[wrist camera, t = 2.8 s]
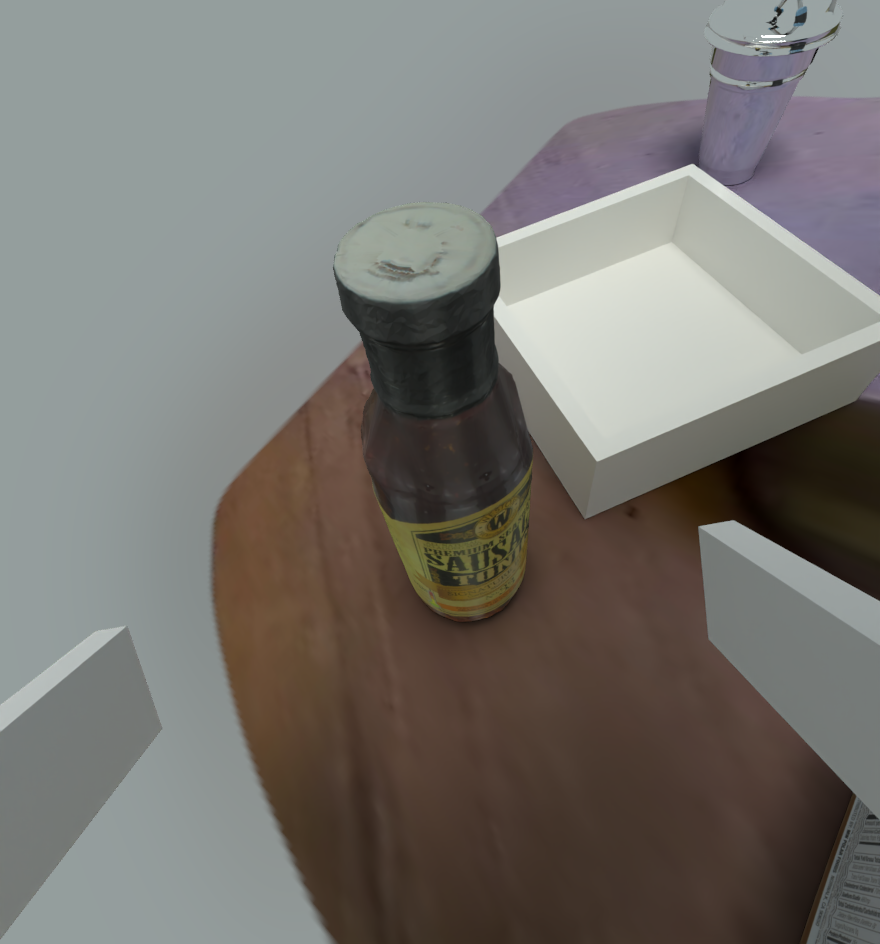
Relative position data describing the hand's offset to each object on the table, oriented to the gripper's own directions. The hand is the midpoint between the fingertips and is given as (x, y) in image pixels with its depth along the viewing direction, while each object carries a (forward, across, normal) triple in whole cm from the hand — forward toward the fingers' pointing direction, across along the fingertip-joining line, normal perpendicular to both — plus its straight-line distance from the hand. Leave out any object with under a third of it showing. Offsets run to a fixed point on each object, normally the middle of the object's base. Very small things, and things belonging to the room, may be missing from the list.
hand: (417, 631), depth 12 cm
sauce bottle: (+16, +1, -6) cm, 17 cm away
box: (+25, +14, +4) cm, 29 cm away
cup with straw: (+39, +28, +17) cm, 51 cm away
